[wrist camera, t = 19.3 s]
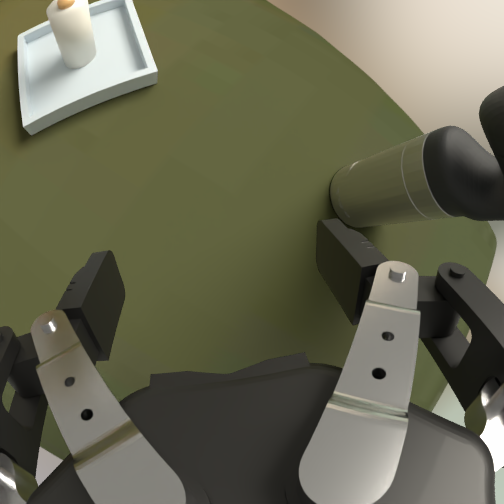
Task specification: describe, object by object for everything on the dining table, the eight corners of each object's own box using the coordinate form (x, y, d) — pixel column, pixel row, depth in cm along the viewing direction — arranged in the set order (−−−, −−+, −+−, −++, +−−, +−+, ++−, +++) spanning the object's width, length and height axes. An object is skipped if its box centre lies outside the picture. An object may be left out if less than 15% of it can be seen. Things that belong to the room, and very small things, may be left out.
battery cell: (93, 38, 29) (84, -18, 18) (99, 60, 29) (88, 2, 18) (62, 51, 28) (45, -3, 16) (66, 73, 28) (45, 19, 17)
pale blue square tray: (129, 4, 31) (129, -8, 28) (156, 83, 33) (157, 71, 30) (23, 46, 26) (17, 35, 23) (31, 135, 28) (23, 127, 25)
